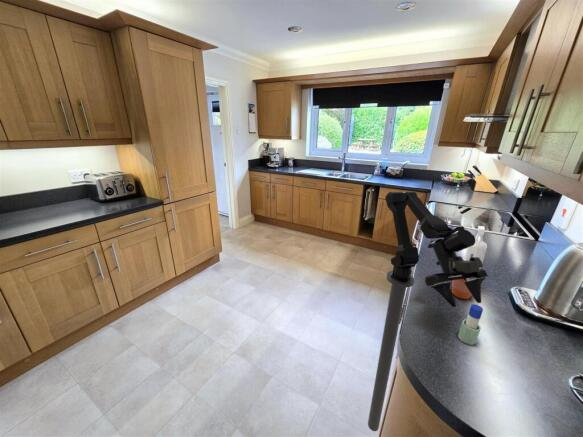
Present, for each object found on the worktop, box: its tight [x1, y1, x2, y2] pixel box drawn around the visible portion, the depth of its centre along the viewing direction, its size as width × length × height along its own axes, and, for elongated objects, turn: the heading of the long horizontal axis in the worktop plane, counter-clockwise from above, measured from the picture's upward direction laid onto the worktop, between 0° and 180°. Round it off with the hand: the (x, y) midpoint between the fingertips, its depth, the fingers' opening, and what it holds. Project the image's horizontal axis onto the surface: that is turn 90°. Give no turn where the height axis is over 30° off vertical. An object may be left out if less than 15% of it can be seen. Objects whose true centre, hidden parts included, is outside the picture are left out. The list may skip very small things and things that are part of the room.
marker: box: [465, 303, 484, 330], centre depth 73 cm, size 3×3×12 cm
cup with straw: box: [451, 254, 474, 300], centre depth 94 cm, size 9×9×18 cm
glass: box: [457, 318, 482, 346], centre depth 75 cm, size 5×5×6 cm
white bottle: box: [463, 225, 488, 269], centre depth 100 cm, size 7×12×25 cm, turn 141°
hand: (467, 304), depth 75 cm, fingers open, 9 cm apart
